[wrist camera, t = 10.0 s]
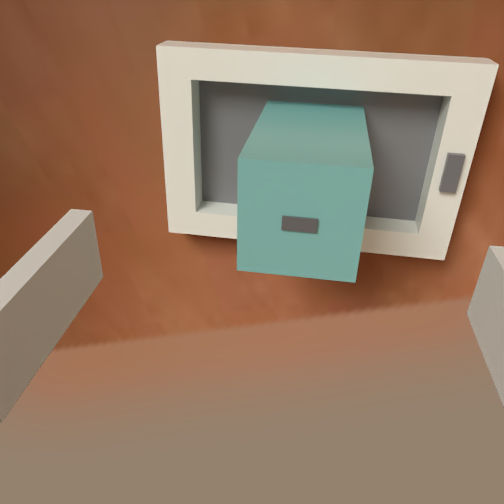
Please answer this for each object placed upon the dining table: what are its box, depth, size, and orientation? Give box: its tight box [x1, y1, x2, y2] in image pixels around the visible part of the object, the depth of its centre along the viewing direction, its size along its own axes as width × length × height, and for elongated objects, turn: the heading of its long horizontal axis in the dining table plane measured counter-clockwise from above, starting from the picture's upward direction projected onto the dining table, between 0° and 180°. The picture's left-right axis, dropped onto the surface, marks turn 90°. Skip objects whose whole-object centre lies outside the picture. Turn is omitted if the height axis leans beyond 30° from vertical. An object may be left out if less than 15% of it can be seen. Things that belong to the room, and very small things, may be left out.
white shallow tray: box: [156, 41, 499, 260], centre depth 26 cm, size 16×10×2 cm, turn 88°
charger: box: [237, 100, 374, 283], centre depth 23 cm, size 5×5×9 cm
